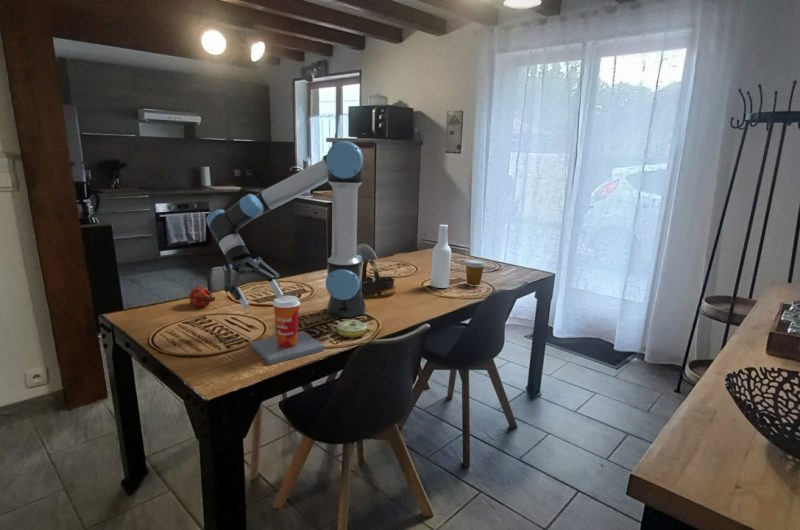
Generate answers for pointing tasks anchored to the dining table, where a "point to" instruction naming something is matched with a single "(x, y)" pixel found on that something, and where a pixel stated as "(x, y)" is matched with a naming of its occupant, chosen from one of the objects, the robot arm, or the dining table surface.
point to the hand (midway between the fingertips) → (264, 301)
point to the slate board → (278, 354)
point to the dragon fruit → (200, 297)
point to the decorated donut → (351, 328)
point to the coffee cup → (286, 320)
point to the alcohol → (441, 260)
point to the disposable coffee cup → (474, 271)
